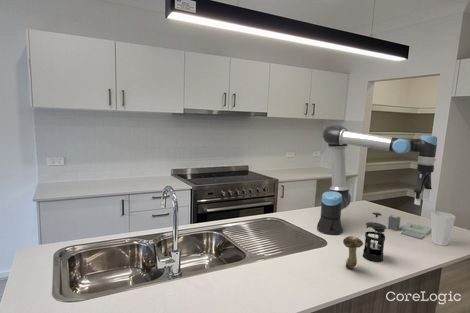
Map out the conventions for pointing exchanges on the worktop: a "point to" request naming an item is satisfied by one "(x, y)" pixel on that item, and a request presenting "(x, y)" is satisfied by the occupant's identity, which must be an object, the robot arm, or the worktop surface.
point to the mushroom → (352, 250)
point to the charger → (394, 222)
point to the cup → (441, 227)
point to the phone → (413, 235)
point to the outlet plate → (423, 230)
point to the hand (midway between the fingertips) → (421, 202)
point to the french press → (372, 246)
